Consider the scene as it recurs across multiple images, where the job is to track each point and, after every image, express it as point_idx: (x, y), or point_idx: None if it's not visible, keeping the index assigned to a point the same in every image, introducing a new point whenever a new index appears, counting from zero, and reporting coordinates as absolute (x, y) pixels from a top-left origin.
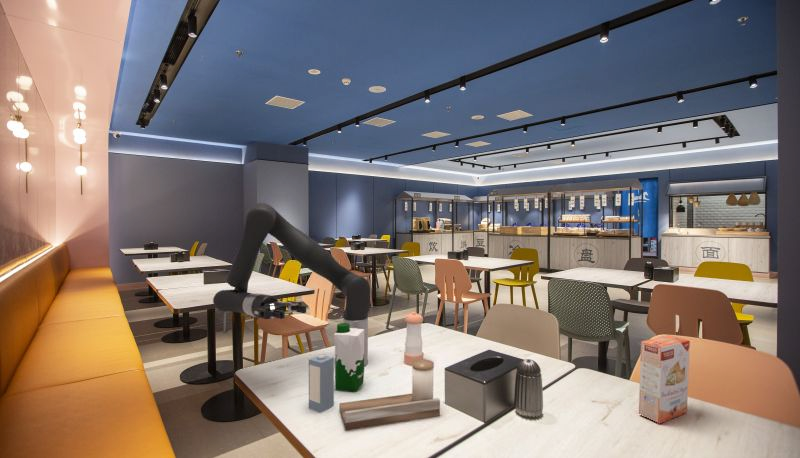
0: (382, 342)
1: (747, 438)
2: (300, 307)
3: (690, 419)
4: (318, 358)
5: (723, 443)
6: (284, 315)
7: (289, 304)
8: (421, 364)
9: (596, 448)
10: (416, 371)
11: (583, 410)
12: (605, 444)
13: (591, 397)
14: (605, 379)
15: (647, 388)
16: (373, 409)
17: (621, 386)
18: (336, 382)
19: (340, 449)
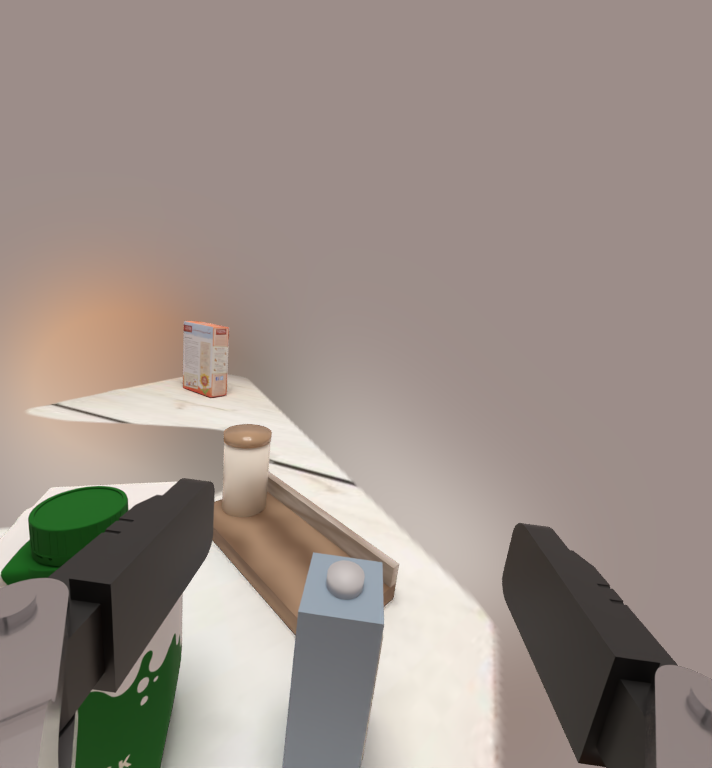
0: None
1: (235, 381)
2: (176, 538)
3: None
4: (364, 581)
5: (246, 387)
6: (508, 556)
7: (51, 755)
8: (258, 432)
9: (283, 417)
10: (268, 446)
11: (206, 414)
12: (273, 414)
13: (169, 408)
14: (110, 397)
15: (218, 369)
16: (351, 530)
17: (134, 394)
18: (159, 756)
19: (444, 578)
